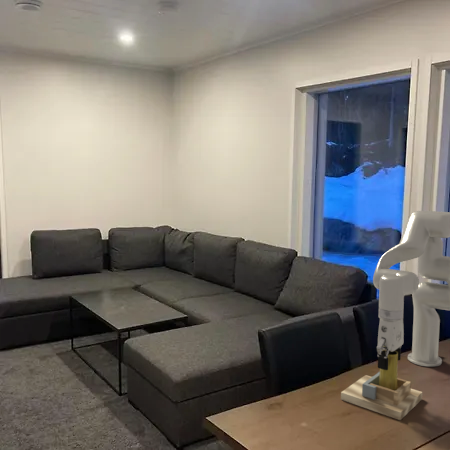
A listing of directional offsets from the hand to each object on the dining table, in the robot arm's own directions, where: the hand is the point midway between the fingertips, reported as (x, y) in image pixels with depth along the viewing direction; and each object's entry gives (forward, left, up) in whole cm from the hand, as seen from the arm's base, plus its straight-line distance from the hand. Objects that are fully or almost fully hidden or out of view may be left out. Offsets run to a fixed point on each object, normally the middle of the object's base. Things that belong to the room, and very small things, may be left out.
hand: (389, 364), depth 158 cm
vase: (0, 0, -10) cm, 10 cm away
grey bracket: (0, -3, -10) cm, 10 cm away
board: (0, -2, -13) cm, 13 cm away
